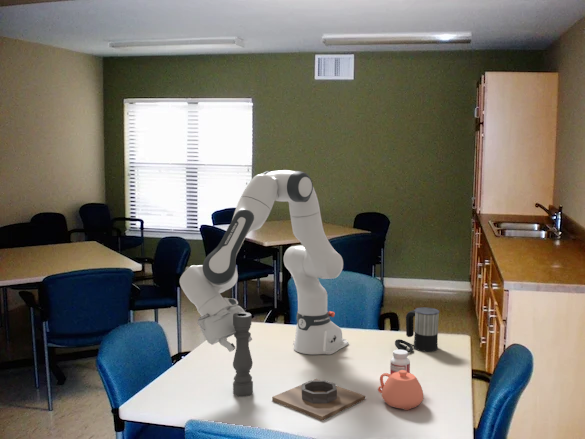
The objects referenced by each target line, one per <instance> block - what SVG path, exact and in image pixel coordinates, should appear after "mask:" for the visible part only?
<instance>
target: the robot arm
mask: <svg viewBox="0 0 585 439" xmlns="http://www.w3.org/2000/svg"><path fill="white" fill-rule="evenodd" d="M313 183H314V182H313V181H312V178H311V177H310V175H309V174H308V173H306V172H304V171H300V170H290V169H282V170H266V171H264V172H262V173H259V174H256V175H254V176H253V177H252V178H251V180H250V181H249V183H248V184H247V185H246V187H245V189H244V190H243V192H242V193H241V197H240V198H239V200H238V203H237V205H236V208H235V210H234V212H233V216H232V219H231V222H230V223H229V226H228V227H227V229H226V231H225V233H224V234H223V236H222V239H221V240H220V242H219V243H218V245H217V246H216V247H215V248H214V249H213V250H212V251H211V252H210V253H208V254H207V256H206V257H205V258H204V260H203V262H202V264H199V265H198V264H197V265H195V264H193V265H190V266H189V267H187V268H186V269H185V270H184V271H183V272H182V274H181V276H179V277H180V278H179V285H180V288H181V290H182V292H183V293H184V294H185V296H186V297H187V299H188V300H189V301H190V303H192V304H193V305H194V306H195V307H196V310H197V312H198V314H200V316H199V317H198V318H197V324H198V325H197V326H199V328H200V331H201V333H202V335H203V337H204V338H205V340H206V341H207V343H208V344H210V345H215V344H217V343H219V344H220V345H221V346H223V347H224V348H226V350H227V351H228V352H230V353H231V352H233V351H235V350H236V346H235V344H234V343H233V342H230V341H228V338H230V337H233V336H234V333H235V332H236V331H235V328H234V326H233V314H235V313H240V312H246V311H245V309H244V308H242V306H240V305H239V301H238V300H237V299H236V298H230V297H229V298H228V297H223V296H222V293H224V292H226V291H229V290H230V289H232V288H233V287H234V286H235V285H236V284H237V282H238V279H239V274H238V273H239V272H238V269H237V266H236V265H237V264H236V263H237V262H236V259H237V256H238V253H239V252H240V249H241V247H242V246H243V243H244V241H245V239H246V237H248V235H249V233H250V232H252V231H256V230H259V229H261V228H262V227H263V225H264V224H265V223H266V221H267V219H268V217H269V215H270V214H271V211H272V209H273V206H274V204H275V202H282V203H283V202H285V203H287V202H288V209H289V210H288V211H289V215H290V216H289V217H290V222H291V223H290V224H291V228H292V234H293V236H294V237H295V238H296V240H298V242H300V244H297V245H292V246H289V247H288V248H287V249H286V250H285V252H284V255H283V264H284V267H285V268H286V269H287V270H288V272H289V273H290V275H291V277H292V279H293V281H294V285H295V288H296V294H297V312H296V328H295V337H294V340H293V350H294V351H295V352H297V353H300V354H303V355H333V354H334V353H336V352H337V351H340V350H341V349H343V348H344V347H346V346H348V345H349V340H347V339H345V338H343V332H342V329H341V327H340V326H338V325H337V324H336V323H334V322H333V321H332V320H331V318H334V317H335V314H336V313H335V311H331V310H329V311H328V292H327V290H326V288H325V287H323V285H322V284H321V282H320V279H322V280H326V279H327V280H328V279H329V280H330V279H336V278H338V277H339V276H340V275H341V273H342V271H343V269H344V259H343V257H342V255H341V254H340V253H338V252H337V251H336V249H334V247H333V246H332V244H331V242H330V241H329V239H328V237H327V236H326V233H325V230H324V225H323V220H322V215H321V209H320V203H319V199H318V195H317V193H316V191H315V190H316V189H315V188H314V184H313ZM252 340H253V338H252V335H251V336H250V337H249V343H250V342H251V341H252Z"/></svg>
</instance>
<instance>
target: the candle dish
mask: <svg viewBox="0 0 585 439" xmlns="http://www.w3.org/2000/svg"><path fill="white" fill-rule="evenodd" d="M271 399H272V402H275V403H277V404H279V403H280V404H279V405H282V406H285V407H287V408H289V409H292V410H294V411H296V412H300V413H302V414H305V415H308V416H310V417H311V418H315V419H316V420H320V421H325V420H327V419H329V418H331V417H333V416H336V415H338V414H339V413H341V412H343V411H345V410H347V409H349V408H352V407H353V406H355V405H357V404H359V403H361V402H364V401H365V400H366V395H364V394H362V393H358V392H357V391H352V390H349V389H347V388H344V387H341V386H338V385H336V383H333V382H331V381H329V380H324V379H322V380H321V379H318V378H314V379H312V380H308V381H306V382H304V383H302V384H299V385H298V386H296V387H293V388H290V389H288V390H285V391H284V392H280V393H278V394H276V395H273V396H272V398H271Z"/></svg>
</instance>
